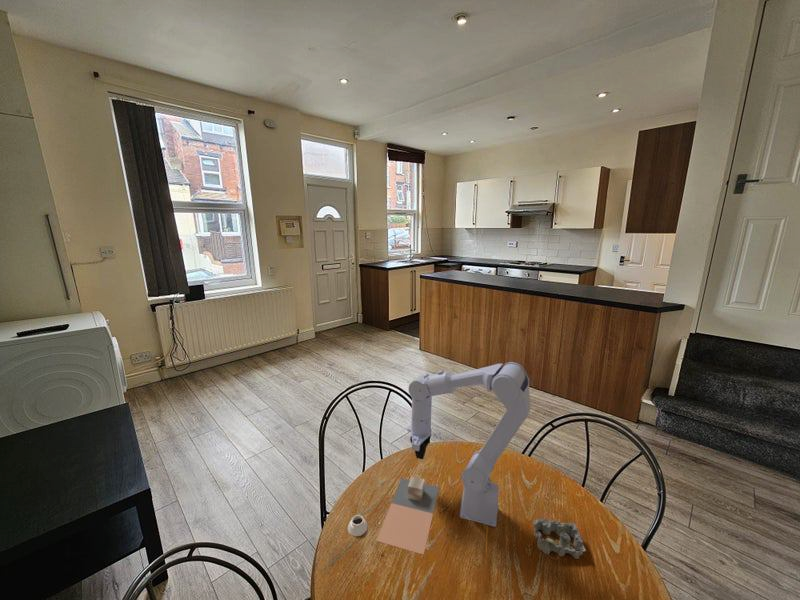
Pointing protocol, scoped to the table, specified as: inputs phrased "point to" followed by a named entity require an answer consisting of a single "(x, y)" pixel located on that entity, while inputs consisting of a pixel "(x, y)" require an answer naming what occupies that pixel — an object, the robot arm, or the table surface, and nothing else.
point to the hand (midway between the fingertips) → (420, 457)
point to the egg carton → (564, 540)
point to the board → (409, 519)
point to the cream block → (416, 488)
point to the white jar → (357, 526)
